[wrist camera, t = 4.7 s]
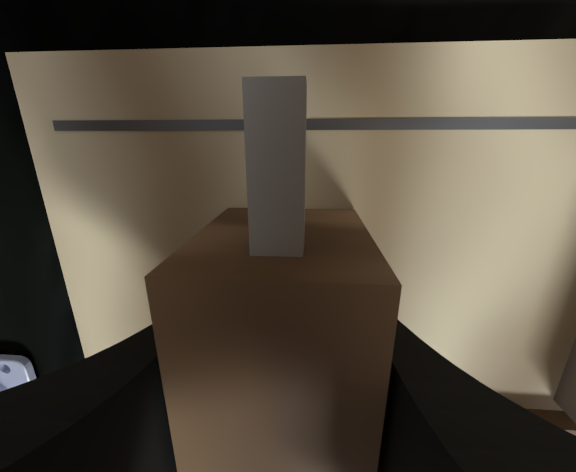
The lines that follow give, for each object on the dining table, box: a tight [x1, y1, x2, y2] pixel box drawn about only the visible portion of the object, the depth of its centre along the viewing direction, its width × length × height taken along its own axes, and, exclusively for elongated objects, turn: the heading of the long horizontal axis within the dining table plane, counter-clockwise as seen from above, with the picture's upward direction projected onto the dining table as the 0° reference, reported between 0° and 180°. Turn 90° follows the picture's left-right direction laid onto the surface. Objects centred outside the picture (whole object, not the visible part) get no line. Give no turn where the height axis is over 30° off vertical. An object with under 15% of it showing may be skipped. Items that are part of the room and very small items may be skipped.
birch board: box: [5, 39, 576, 436], centre depth 10 cm, size 20×14×4 cm
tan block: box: [144, 76, 402, 472], centre depth 8 cm, size 4×10×5 cm, turn 0°
